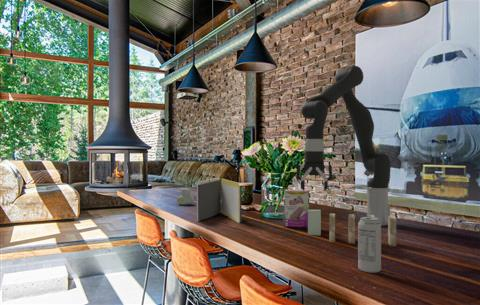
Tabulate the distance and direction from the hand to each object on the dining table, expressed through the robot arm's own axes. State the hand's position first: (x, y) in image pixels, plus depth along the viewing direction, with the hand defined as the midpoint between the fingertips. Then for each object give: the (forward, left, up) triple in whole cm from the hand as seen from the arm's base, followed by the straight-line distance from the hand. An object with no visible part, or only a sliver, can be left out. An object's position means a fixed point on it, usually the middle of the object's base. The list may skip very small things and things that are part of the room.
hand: (314, 190), depth 148 cm
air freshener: (+48, -97, -18) cm, 109 cm away
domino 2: (-3, +11, -18) cm, 21 cm away
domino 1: (0, 0, -18) cm, 18 cm away
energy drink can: (+3, +46, -18) cm, 50 cm away
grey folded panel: (+35, -45, -18) cm, 60 cm away
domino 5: (-22, +20, -18) cm, 35 cm away
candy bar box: (+2, -17, -18) cm, 25 cm away
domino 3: (-9, +14, -18) cm, 25 cm away
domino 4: (-15, +17, -18) cm, 29 cm away
